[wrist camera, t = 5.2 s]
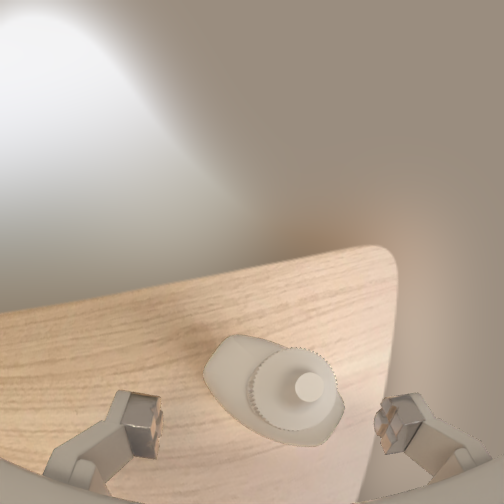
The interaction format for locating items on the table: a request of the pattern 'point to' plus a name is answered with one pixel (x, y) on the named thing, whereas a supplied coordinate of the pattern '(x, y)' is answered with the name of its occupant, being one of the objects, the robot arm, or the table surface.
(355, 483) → the table surface
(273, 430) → the eye dropper bottle
